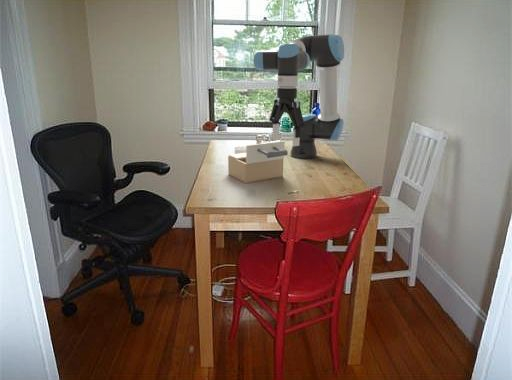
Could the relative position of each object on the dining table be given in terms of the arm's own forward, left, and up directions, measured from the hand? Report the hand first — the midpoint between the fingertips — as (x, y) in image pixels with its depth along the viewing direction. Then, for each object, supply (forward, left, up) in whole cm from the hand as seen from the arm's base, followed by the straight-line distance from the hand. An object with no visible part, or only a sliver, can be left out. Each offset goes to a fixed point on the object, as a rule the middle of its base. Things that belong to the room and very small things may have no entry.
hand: (285, 142), depth 144 cm
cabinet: (0, -23, -20) cm, 30 cm away
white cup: (-2, -39, -20) cm, 43 cm away
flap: (0, -14, -7) cm, 16 cm away
